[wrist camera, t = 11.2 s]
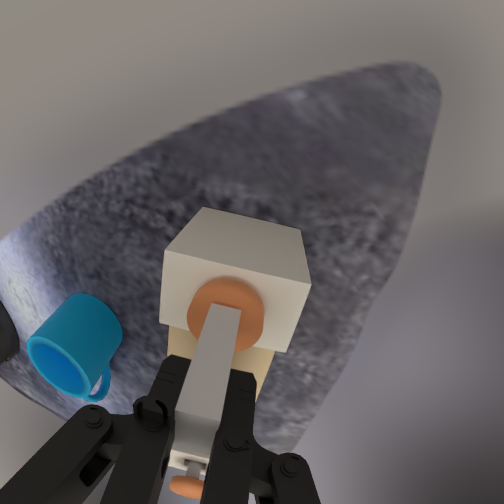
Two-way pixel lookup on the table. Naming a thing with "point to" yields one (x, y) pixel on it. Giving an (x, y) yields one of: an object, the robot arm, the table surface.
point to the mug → (77, 346)
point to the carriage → (244, 360)
